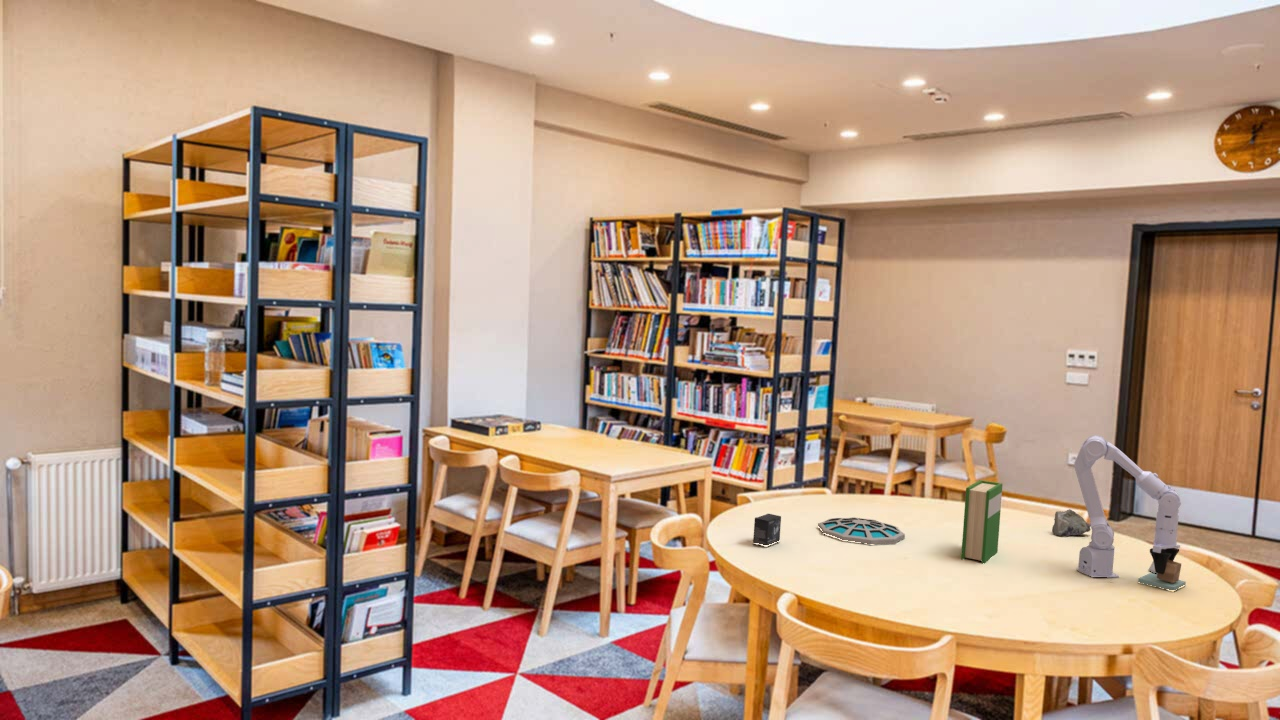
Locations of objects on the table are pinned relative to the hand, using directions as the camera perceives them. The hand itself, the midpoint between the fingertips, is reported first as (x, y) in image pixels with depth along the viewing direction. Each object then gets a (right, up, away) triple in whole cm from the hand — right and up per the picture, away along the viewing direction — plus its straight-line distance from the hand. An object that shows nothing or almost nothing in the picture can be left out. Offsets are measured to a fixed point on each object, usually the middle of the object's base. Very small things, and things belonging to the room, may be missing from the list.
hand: (1162, 571), depth 265 cm
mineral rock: (0, -1, +57) cm, 57 cm away
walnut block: (+1, -2, -1) cm, 2 cm away
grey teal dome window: (-82, +2, +46) cm, 94 cm away
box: (-119, +3, +26) cm, 122 cm away
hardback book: (-47, -1, +24) cm, 53 cm away
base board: (0, -4, 0) cm, 4 cm away
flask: (+8, -4, +13) cm, 16 cm away
